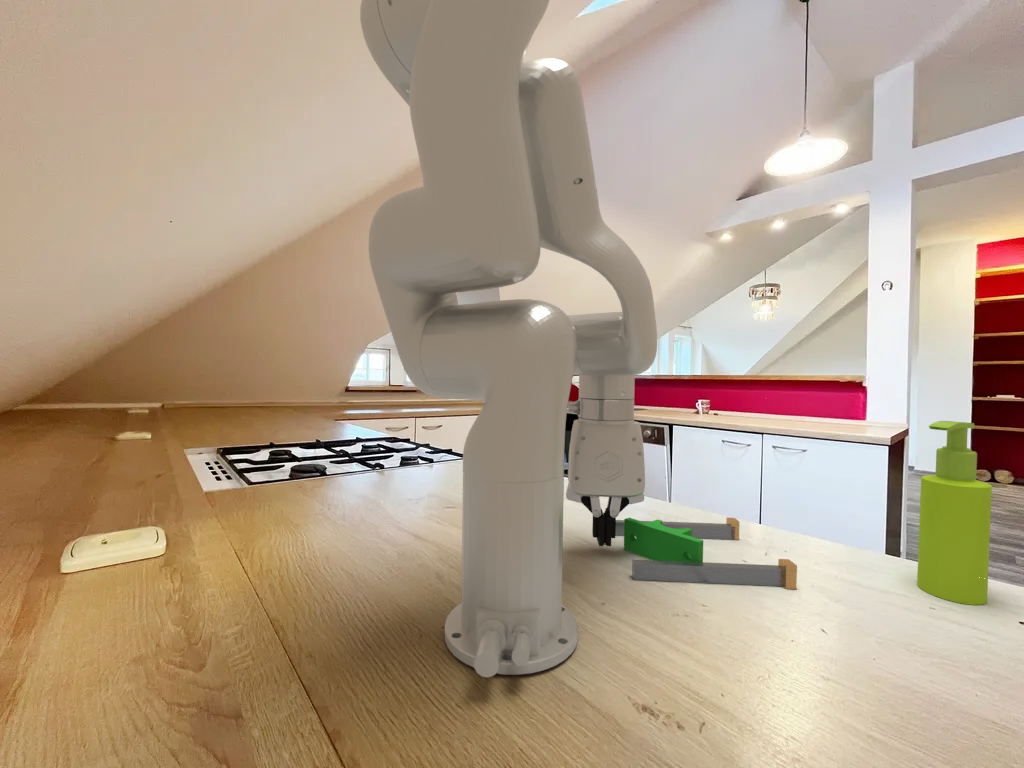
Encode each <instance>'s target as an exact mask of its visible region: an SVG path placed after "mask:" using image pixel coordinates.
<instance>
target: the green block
mask: <svg viewBox="0 0 1024 768" xmlns="http://www.w3.org/2000/svg"><path fill="white" fill-rule="evenodd" d="M623 520H624V536H623V549H624V550H625V551H627V552H631V553H633V554H636V555H638V556H641V557H644V558H646V559H648V560H659V561H683V562H703V561H704V540H703V539H702V538H694V537H692V529H689V528H685V529H674V528H669V527H665V526H663V525H662V522H663V520H661V519H655V520H651V521H652V522H649V523H645V522H642V521H643V520H639V519H635V518H632V517H627V518H624V519H623ZM634 535H635V536H634Z"/></svg>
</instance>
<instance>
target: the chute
mask: <svg viewBox="0 0 1024 768" xmlns="http://www.w3.org/2000/svg"><path fill="white" fill-rule="evenodd" d="M641 521H642V522H645V523H649V522H652V521H653V520H641ZM725 521H726V522H725V523H715V522H714V523H713V522H711V523H710V522H687V521H685V522H683V521H662V525H663V526H665V527H669V528H674V529H685V528H689V529H692V537H694V538H698V539H702V540H703V539H704V540H705V539H707V540H708V539H709V540H710V539H711V540H732V541H733V540H734V541H739V540H740V521H739V520H738V519H737V518H736V517H726V519H725ZM615 536H623V537H624V519H616V535H615ZM634 536H635V535H634ZM635 537H636V536H635ZM631 561H632V562H631V563H632V564H631V565H632V566H631V576H632V578H633V580H635V581H650V582H651V581H656V582H674V583H675V582H676V583H697V584H719V585H720V584H721V585H724V584H725V585H742V586H743V585H746V586H750V585H751V586H765V587H766V586H768V587H783V588H784V589H787V590H797V579H798V578H797V577H798V565H797V564H796V563H795V562H793V561H792V560H790V559H787V558H778V565H775V564H773V565H772V564H753V563H750V564H748V563H726V562H706V561H705V562H683V561H659V560H651V559H635V558H633V559H632V560H631Z"/></svg>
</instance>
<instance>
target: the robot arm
mask: <svg viewBox="0 0 1024 768" xmlns="http://www.w3.org/2000/svg"><path fill="white" fill-rule="evenodd" d="M549 3H550V0H361V2H360V12H359V15H360V17H359V19H360V20H359V21H360V25H361V30H362V31H361V32H362V35H363V38H364V41H365V43H366V47H367V48H368V51H369V53H370V55H371V56H372V58H373V61H374V62H375V65H376V66H377V67H378V69H379V70H380V72H381V74H382V75H383V76H384V77H385V79H386V80H387V81H388V83H390V85H391V86H392V87H393V88H394V90H395V91H396V93H398V95H399V96H400V98H401V99H402V100H403V101H404V102H405V103H406V104H407V105H408V106H409V112H410V118H411V119H410V121H411V126H412V130H413V136H414V141H415V146H416V150H417V155H418V159H419V164H420V168H421V170H420V171H421V175H422V183H423V184H422V186H420V187H416V188H413V189H410V190H407V191H402V192H401V193H400V192H399V193H397V194H395V195H393V196H391V197H389V198H388V199H387V200H385V201H384V202H383V203H382V204H381V205H380V206H379V207H378V208H377V210H376V212H375V213H374V215H373V217H372V220H371V223H370V227H369V233H368V247H367V248H368V259H369V263H370V264H369V265H370V267H371V271H372V275H373V279H374V282H375V285H376V288H377V292H378V294H379V299H380V301H381V305H382V308H383V310H384V313H385V317H386V320H387V323H388V327H389V328H390V332H391V336H392V339H393V342H394V345H395V349H396V350H397V354H398V357H399V360H400V362H401V364H402V367H403V369H404V372H405V373H406V375H407V377H408V379H409V380H410V382H411V383H412V384H413V386H415V388H417V389H418V390H419V391H420V392H422V393H424V394H425V395H428V396H431V397H433V398H434V397H435V398H439V399H447V400H448V399H449V400H451V399H452V400H465V401H467V400H468V401H469V400H470V401H479V402H484V403H483V406H482V408H481V410H480V412H479V414H478V415H477V417H476V418H475V420H474V422H473V424H472V426H471V428H470V429H469V430H468V433H467V436H466V438H465V443H464V446H463V451H462V517H461V518H462V521H461V522H462V526H461V527H462V530H461V532H462V533H461V534H462V535H461V541H462V542H461V602H460V603H459V604H458V605H456V606H455V607H454V608H453V609H451V611H450V612H449V614H448V615H447V616H446V619H445V621H444V640H445V644H446V645H447V649H448V650H449V651H450V652H451V653H452V655H453V656H454V657H455V658H457V659H458V660H459V661H461V662H462V663H463V664H464V665H465V664H466V665H468V666H469V667H471V668H474V669H475V672H476V674H477V675H479V676H480V677H483V678H490V677H493V676H495V675H497V674H498V675H502V676H503V675H504V676H506V675H507V676H509V675H511V676H518V675H530V674H533V673H534V674H535V673H539V672H542V671H545V670H548V669H551V668H554V667H555V666H557V665H559V664H561V663H562V662H564V661H565V660H566V659H567V658H568V657H569V656H570V655H572V654H573V652H574V651H575V648H577V644H578V639H579V625H578V622H577V619H576V617H575V616H574V614H573V612H571V611H570V610H569V609H568V608H567V607H566V606H565V605H563V553H564V551H563V550H564V547H563V545H564V544H563V543H564V495H565V498H566V500H568V501H572V502H575V503H579V504H582V505H583V506H584V507H585V508H586V509H587V510H588V511H589V512H590V513H591V514H592V529H591V531H592V538H593V539H594V538H596V541H597V544H598V546H599V547H604V546H606V547H612V539H616V536H617V535H616V520H617V517H619V515H620V513H621V512H622V511H623V510H624V509H625V508H627V506H628V505H633V504H639V503H642V502H644V501H645V495H644V492H645V488H646V487H645V485H646V469H645V467H646V466H645V452H644V451H645V449H644V448H645V447H644V440H643V434H642V433H643V432H642V427H641V423H640V422H639V421H635V386H636V385H635V381H636V379H635V377H636V376H637V375H641V374H643V373H645V372H646V371H648V370H650V368H651V367H652V366H653V364H654V362H655V359H656V356H657V352H658V329H657V319H656V312H655V311H656V310H655V302H654V295H653V290H652V286H651V282H650V278H649V277H648V274H647V272H646V269H645V267H643V264H642V263H641V261H640V259H639V257H638V256H637V255H636V253H635V252H634V251H633V250H632V248H631V247H630V246H629V245H628V244H627V242H625V241H624V240H623V239H622V238H621V237H620V236H619V234H617V233H616V232H615V231H613V230H612V229H611V227H609V226H608V225H607V224H606V222H605V221H604V219H603V217H602V215H601V214H602V213H601V210H600V203H599V197H598V196H599V195H598V188H597V184H596V178H595V171H594V165H593V164H594V163H593V157H592V151H591V143H590V136H589V130H588V123H587V116H586V111H585V109H586V108H585V105H584V98H583V97H584V96H583V92H582V87H581V82H580V79H579V76H578V74H577V72H576V70H575V69H574V68H573V66H572V65H570V64H569V62H566V61H565V60H563V59H558V58H555V57H544V58H543V57H542V58H537V59H533V60H532V59H531V60H528V61H524V59H525V56H526V53H527V51H528V47H529V44H530V42H531V41H532V38H533V35H534V34H535V31H536V30H537V28H538V26H539V24H540V23H541V21H542V20H543V17H544V15H545V14H546V11H547V9H548V6H549ZM541 248H542V249H545V250H547V251H548V250H549V251H551V252H553V253H558V254H560V255H564V256H566V257H569V258H571V259H574V260H576V261H578V262H581V263H582V264H585V265H586V266H588V267H590V268H591V269H593V270H594V271H596V272H597V273H598V274H600V275H601V276H602V277H603V278H605V280H606V281H607V282H608V283H609V284H610V285H611V286H612V288H613V290H614V291H615V293H616V296H617V297H618V301H619V302H620V306H621V310H622V311H614V312H610V311H609V312H599V313H598V312H596V313H594V312H593V313H585V314H570V315H567V313H565V311H564V310H562V309H561V308H559V307H558V306H556V305H555V304H552V303H550V302H546V301H543V300H538V299H525V298H523V299H520V298H519V299H518V298H516V299H504V300H494V301H493V300H492V301H480V302H477V303H475V302H474V303H465V304H464V303H462V304H459V302H458V301H459V300H458V297H457V293H467V292H476V291H484V290H492V289H498V288H503V287H509V286H513V285H515V284H516V285H517V284H519V283H521V282H523V281H525V280H526V279H528V278H529V277H530V276H532V275H533V273H534V272H535V271H536V268H537V267H538V265H539V263H540V257H541ZM574 376H578V387H579V388H578V398H577V399H578V400H576V401H574V402H569V399H570V393H571V389H572V383H573V378H574ZM568 413H573V414H576V415H577V417H578V419H574V420H573V424H572V428H571V434H570V435H571V436H570V440H569V441H570V442H569V449H568V464H567V480H568V481H567V482H568V483H567V487H566V491H564V489H565V487H564V486H565V446H566V445H565V444H566V443H565V441H566V440H565V439H566V437H565V436H566V425H567V424H566V422H567V414H568ZM602 497H603V498H608V500H607V504H606V505H607V506H606V508H604V509H605V510H604V511H603V510H602V507H601V501H600V498H602Z"/></svg>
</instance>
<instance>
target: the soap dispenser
mask: <svg viewBox="0 0 1024 768" xmlns="http://www.w3.org/2000/svg"><path fill="white" fill-rule="evenodd" d="M928 428H929V429H930V430H935V431H936V430H937V431H946V446H942V447H939V448H936V453H935V454H936V455H935V457H936V458H935V474H927V475H921V477H920V495H919V496H920V500H919V522H918V523H919V525H918V526H919V529H918V551H917V576H916V578H917V580H916V585H917V587H918V588H919V589H920V590H922V591H924V592H925V593H927V594H929V595H932V596H934V597H936V598H940V599H943V600H946V601H949V602H952V603H953V602H954V603H958V604H963V605H974V606H982V605H985V604H987V602H988V589H989V585H988V584H989V568H990V567H989V563H990V541H991V540H990V539H991V538H990V536H991V520H992V519H991V517H992V516H991V514H992V513H991V512H992V496H993V495H992V491H993V485H992V484H989V482H988V483H987V482H985V481H982V480H978V479H977V471H978V470H977V467H978V465H977V464H978V453H977V452H976V451H973V450H972V449H971V448H968V433H969V432H968V429H975V423H974V422H965V421H952V420H939V421H935V422H933V423H931V424H929V425H928ZM979 577H980V578H979ZM984 578H985V579H984Z"/></svg>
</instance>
